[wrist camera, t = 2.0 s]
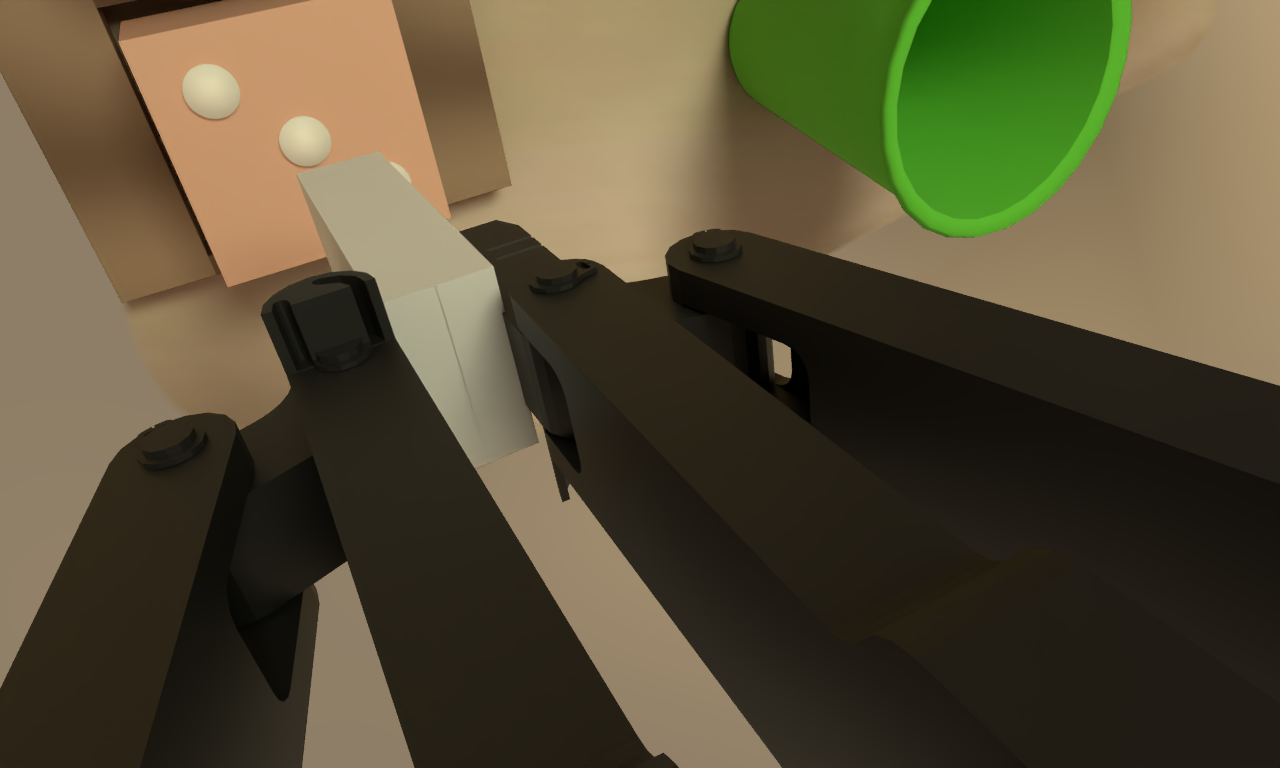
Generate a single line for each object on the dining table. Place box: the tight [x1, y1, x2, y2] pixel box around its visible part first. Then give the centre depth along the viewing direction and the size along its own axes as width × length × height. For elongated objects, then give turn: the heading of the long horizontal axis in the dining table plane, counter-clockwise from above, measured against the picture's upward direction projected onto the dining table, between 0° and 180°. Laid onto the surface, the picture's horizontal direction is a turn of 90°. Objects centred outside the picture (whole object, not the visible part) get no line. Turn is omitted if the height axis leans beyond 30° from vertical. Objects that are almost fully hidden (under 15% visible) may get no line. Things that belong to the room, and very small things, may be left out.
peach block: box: [118, 0, 451, 287], centre depth 23 cm, size 6×6×4 cm
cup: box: [729, 0, 1132, 237], centre depth 28 cm, size 9×9×11 cm
